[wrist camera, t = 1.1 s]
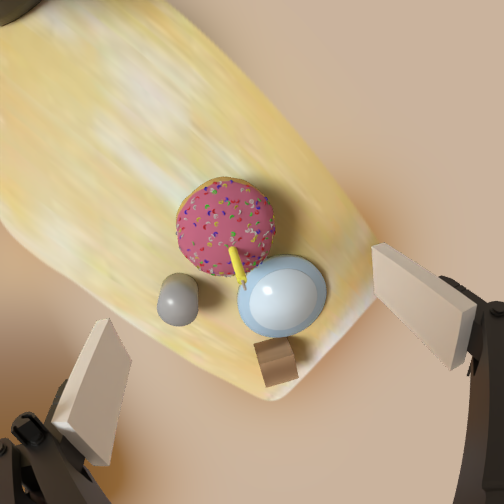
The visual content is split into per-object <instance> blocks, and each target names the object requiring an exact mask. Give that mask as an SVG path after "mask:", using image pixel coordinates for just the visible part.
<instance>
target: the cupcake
mask: <svg viewBox="0 0 504 504" xmlns="http://www.w3.org/2000/svg"><path fill="white" fill-rule="evenodd" d="M176 228H177V232H176V235H177V236H178V244H179V249H180V250H181V252H182V253H183V254H184V255H185V257H186V258H188V259H189V260H190V261H191V262H192V263H193V264H194V265H195V266H196V267H197V268H198V269H199V270H200V271H201V270H202V271H203V272H206V273H209V274H211V275H214V276H216V275H217V276H224V277H231V276H234V275H236V278H237V282H238V283H239V284H240V285H242V286H243V289H244V290H245V291H246V290H247V288H246V285H245V283H246V282H247V278H246V275H245V274H247V272H250V270H253V269H254V268H255V267H256V268H259V264H262V263H263V260H264V259H266V258H267V255H268V253H269V250H270V247H271V244H272V243H273V237H274V234H275V233H276V231H275V220H274V215H273V209H272V206H271V205H270V203H269V202H268V199H267V197H265V196H264V195H263V194H262V193H261V192H260V191H259V190H258V189H257V188H256V187H254V186H253V185H251V184H250V183H249V182H247V181H245V180H241V179H236V178H231V177H218V178H214V179H211V180H209V181H207V182H205V183H203V184H202V185H200V186H199V187H198V188H197V189H196V190H194V191H193V192H192V193H191V194H190V195H189V196H188V197H186V198H185V199H184V200H183V202H182V204H181V205H180V207H179V209H178V212H177V215H176Z"/></svg>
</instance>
